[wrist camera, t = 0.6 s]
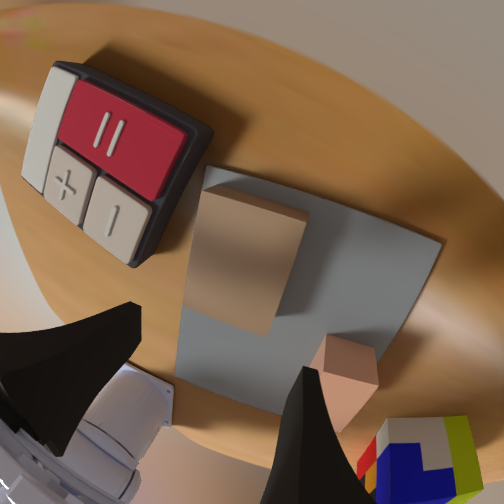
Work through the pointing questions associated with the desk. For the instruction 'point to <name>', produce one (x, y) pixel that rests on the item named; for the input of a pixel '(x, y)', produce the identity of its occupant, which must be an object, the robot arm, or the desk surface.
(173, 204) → the calculator
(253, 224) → the walnut base brick
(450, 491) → the puzzle toy
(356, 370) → the terracotta brick
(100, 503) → the robot arm
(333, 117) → the desk surface
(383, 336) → the baseplate
